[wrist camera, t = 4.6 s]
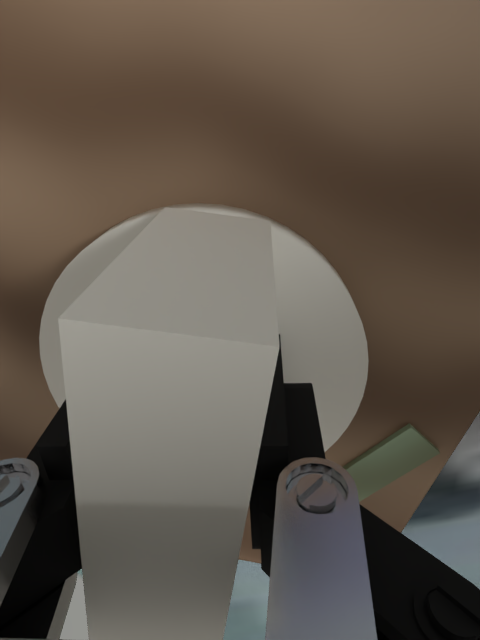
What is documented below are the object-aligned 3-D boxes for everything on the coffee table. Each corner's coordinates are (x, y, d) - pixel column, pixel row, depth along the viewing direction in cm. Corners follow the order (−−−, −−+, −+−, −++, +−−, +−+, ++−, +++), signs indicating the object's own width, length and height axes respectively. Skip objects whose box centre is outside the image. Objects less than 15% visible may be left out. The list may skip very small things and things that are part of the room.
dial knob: (40, 180, 10) (-252, 278, 4) (400, 228, 10) (579, 385, 4) (75, 531, 16) (-26, 762, 11) (299, 559, 16) (319, 801, 11)
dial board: (-71, -137, 10) (-179, -216, 7) (622, 59, 11) (723, 46, 9) (-18, 457, 19) (-58, 508, 17) (356, 530, 20) (368, 588, 18)
